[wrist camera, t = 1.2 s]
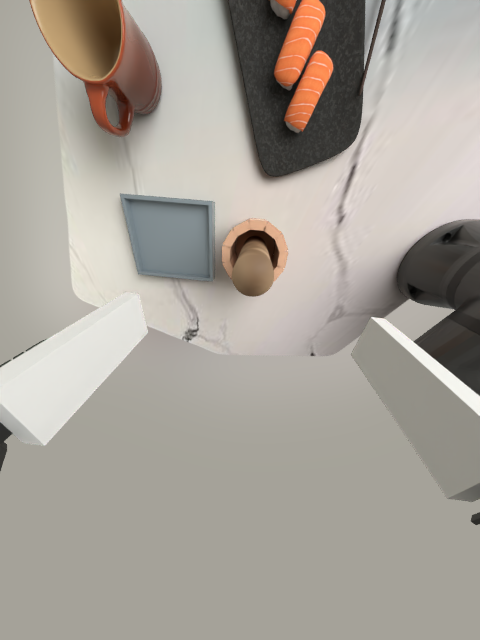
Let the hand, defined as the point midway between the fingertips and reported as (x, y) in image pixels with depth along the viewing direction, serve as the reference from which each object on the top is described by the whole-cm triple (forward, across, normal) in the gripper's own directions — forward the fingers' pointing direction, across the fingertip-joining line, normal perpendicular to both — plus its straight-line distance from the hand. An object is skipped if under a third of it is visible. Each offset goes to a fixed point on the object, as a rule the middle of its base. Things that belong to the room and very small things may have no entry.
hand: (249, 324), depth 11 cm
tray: (+29, +16, 0) cm, 33 cm away
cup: (+29, 0, 0) cm, 29 cm away
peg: (+28, 0, 0) cm, 28 cm away
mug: (+29, +19, -19) cm, 39 cm away
